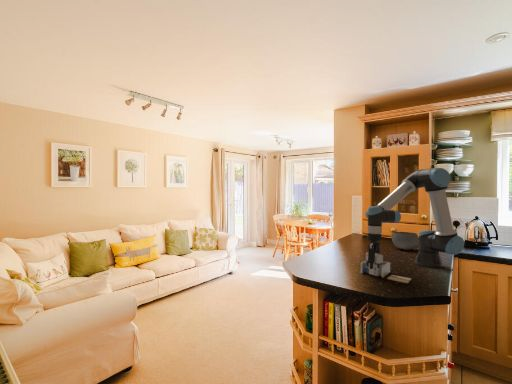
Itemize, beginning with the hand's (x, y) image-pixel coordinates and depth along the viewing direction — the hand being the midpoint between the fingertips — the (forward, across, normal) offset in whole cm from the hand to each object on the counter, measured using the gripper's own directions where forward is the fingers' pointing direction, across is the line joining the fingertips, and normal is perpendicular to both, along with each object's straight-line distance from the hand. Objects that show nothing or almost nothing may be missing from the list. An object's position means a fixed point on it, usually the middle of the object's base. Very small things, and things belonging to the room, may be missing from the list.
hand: (373, 272), depth 156 cm
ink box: (+1, 0, 0) cm, 1 cm away
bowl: (+1, -100, -4) cm, 100 cm away
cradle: (+1, -3, 0) cm, 3 cm away
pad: (+1, +1, +14) cm, 14 cm away
